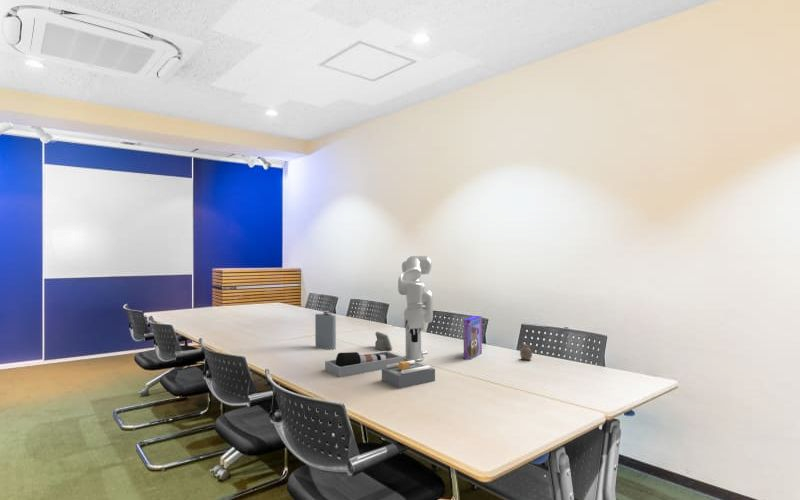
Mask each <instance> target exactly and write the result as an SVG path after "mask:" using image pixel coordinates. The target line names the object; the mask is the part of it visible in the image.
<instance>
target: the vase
mask: <svg viewBox="0 0 800 500" xmlns="http://www.w3.org/2000/svg"><path fill="white" fill-rule="evenodd" d="M519 355H520V359H522V360H523V361H530V360H531V359H532V357H533V352H532V349H531V348H530V346H529V345H528V344H523V347H521V348H520V351H519Z"/></svg>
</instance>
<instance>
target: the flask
mask: <svg viewBox="0 0 800 500" xmlns="http://www.w3.org/2000/svg"><path fill="white" fill-rule="evenodd" d="M322 312H323V313H315V314H314V315H315V317H314V318H315V321H314V322H315V323H314V325H315V327H314V328H315V329H314V331H315V348H320V347H322V348H321V349H326V348H328V349H327V350H331V349H332V351H333V350H334V349H335V350H337V349H336V348H337V346H336V345H337V330H336V329H337V319H336V318H337V317H336V315H334V314H333V313H332V312H330V311H329V310H323V311H322Z"/></svg>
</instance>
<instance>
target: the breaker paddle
mask: <svg viewBox="0 0 800 500" xmlns="http://www.w3.org/2000/svg"><path fill="white" fill-rule="evenodd" d="M399 369H400V370H407V369H410V362H407V361H406V360H403V361H402V362H399Z"/></svg>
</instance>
